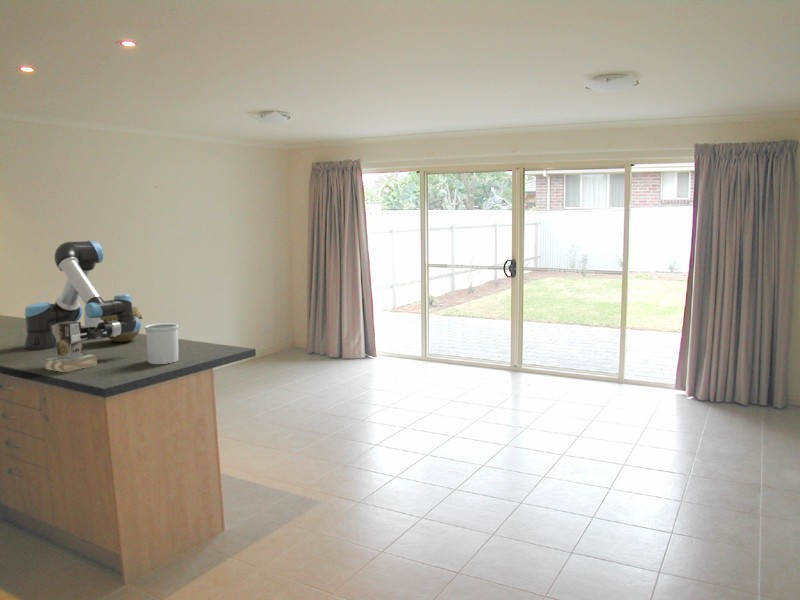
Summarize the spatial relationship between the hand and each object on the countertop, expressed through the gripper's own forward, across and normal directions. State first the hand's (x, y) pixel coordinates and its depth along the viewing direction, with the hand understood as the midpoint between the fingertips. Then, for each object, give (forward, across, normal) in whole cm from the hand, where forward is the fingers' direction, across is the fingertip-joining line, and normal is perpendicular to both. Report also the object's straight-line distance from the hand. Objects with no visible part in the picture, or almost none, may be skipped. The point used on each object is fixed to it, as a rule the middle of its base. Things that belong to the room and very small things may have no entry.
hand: (64, 336), depth 277 cm
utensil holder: (-34, -24, -15) cm, 44 cm away
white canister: (-47, +57, -15) cm, 76 cm away
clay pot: (-49, +34, -15) cm, 61 cm away
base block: (-2, 0, -15) cm, 15 cm away
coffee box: (-2, 0, -10) cm, 10 cm away
